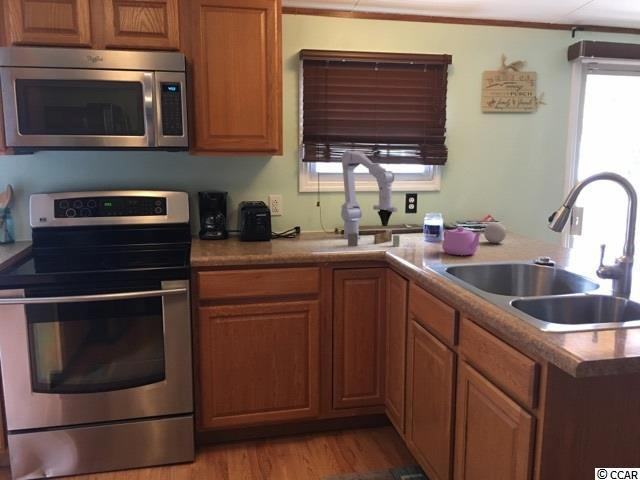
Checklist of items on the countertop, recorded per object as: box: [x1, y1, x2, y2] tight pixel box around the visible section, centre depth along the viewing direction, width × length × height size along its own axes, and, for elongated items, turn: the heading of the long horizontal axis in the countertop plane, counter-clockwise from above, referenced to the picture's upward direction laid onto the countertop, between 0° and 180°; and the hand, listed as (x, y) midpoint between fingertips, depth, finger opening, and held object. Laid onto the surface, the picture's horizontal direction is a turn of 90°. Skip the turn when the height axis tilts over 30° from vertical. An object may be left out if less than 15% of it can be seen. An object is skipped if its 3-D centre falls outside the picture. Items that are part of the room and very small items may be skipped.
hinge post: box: [385, 229, 393, 242], centre depth 253 cm, size 2×2×5 cm
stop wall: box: [392, 234, 400, 247], centre depth 239 cm, size 2×2×5 cm
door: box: [373, 231, 392, 245], centre depth 248 cm, size 11×1×4 cm, turn 131°
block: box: [347, 232, 359, 247], centre depth 241 cm, size 4×4×6 cm
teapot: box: [442, 226, 484, 256], centre depth 219 cm, size 20×13×12 cm, turn 39°
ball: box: [483, 221, 507, 244], centre depth 243 cm, size 10×10×10 cm
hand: (384, 225), depth 241 cm, fingers closed
